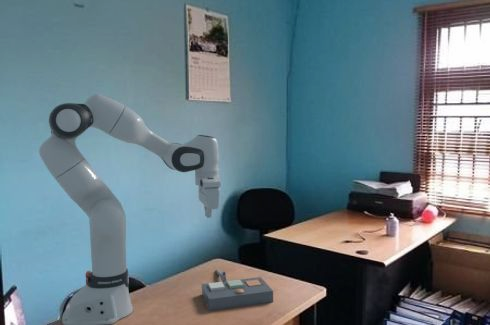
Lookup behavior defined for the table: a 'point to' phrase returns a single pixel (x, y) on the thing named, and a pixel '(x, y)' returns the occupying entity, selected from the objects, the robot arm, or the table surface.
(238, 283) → the sage button
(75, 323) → the robot arm
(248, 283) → the terracotta button
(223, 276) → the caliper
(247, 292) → the button panel
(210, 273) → the table surface
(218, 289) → the white button
